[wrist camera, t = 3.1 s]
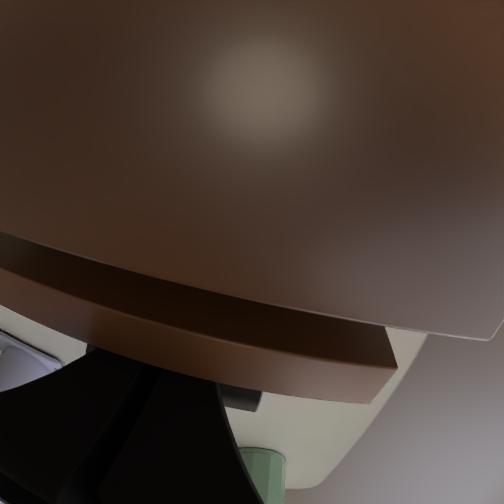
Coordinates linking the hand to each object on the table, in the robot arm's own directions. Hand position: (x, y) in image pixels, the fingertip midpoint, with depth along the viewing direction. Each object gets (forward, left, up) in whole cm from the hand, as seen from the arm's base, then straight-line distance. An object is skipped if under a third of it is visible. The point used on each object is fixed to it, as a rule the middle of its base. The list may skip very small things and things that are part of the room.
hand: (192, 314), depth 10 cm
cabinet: (+11, 0, -4) cm, 12 cm away
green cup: (-21, -6, -4) cm, 22 cm away
